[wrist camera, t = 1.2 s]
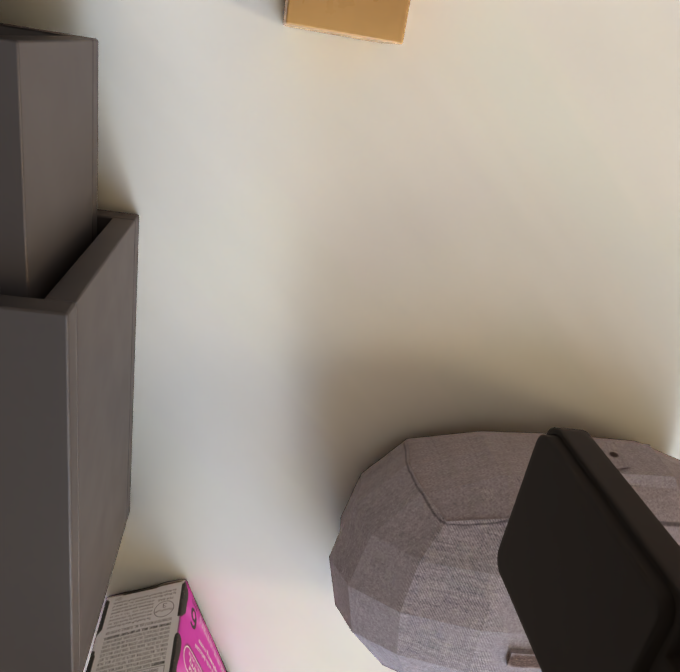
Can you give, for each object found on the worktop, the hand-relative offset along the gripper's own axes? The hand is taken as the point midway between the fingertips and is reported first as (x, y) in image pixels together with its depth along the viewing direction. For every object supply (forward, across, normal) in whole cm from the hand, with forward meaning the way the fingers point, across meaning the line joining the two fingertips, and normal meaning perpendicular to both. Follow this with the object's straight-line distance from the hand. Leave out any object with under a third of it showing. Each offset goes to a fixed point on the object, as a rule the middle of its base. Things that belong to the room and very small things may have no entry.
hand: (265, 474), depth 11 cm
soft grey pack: (+19, -15, +16) cm, 29 cm away
